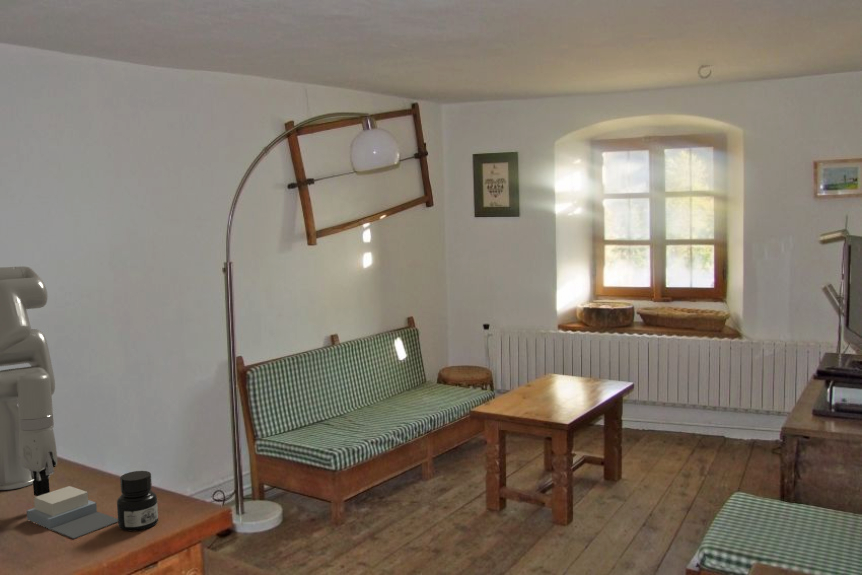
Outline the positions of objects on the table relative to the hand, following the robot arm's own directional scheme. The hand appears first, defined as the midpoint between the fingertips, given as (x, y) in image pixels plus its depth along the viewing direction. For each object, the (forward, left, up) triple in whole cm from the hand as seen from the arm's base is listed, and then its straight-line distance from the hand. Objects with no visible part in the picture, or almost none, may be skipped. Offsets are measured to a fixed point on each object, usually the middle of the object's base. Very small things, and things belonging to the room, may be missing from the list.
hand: (41, 494), depth 193 cm
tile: (+9, 0, 0) cm, 9 cm away
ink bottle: (+29, +7, -4) cm, 30 cm away
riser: (+9, 0, -4) cm, 10 cm away
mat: (+19, 0, -4) cm, 19 cm away
